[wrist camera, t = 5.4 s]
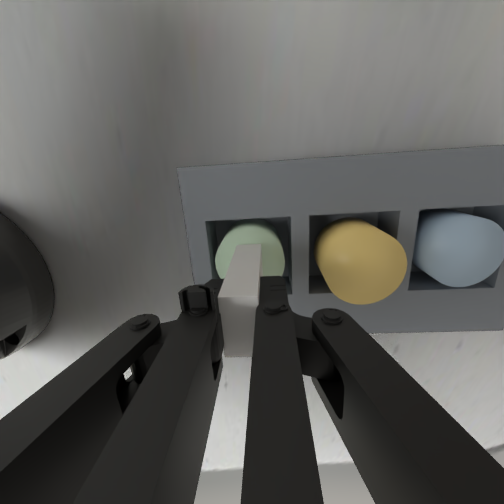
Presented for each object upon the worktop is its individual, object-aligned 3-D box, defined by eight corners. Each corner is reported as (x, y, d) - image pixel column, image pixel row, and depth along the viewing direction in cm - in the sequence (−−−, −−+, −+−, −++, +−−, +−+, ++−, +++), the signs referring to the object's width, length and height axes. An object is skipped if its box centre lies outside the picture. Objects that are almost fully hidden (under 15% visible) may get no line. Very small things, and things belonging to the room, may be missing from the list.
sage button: (226, 273, 20) (219, 295, 17) (221, 219, 19) (211, 231, 16) (282, 271, 20) (285, 293, 17) (280, 215, 19) (283, 227, 15)
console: (212, 308, 23) (202, 337, 19) (194, 166, 19) (176, 167, 15) (461, 300, 21) (503, 330, 18) (495, 145, 17) (558, 140, 14)
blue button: (395, 266, 20) (422, 288, 16) (402, 209, 18) (434, 219, 15) (456, 264, 19) (497, 285, 16) (468, 205, 18) (516, 215, 14)
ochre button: (313, 279, 18) (323, 305, 15) (314, 219, 17) (326, 232, 14) (376, 277, 18) (401, 303, 15) (382, 215, 17) (412, 228, 13)
